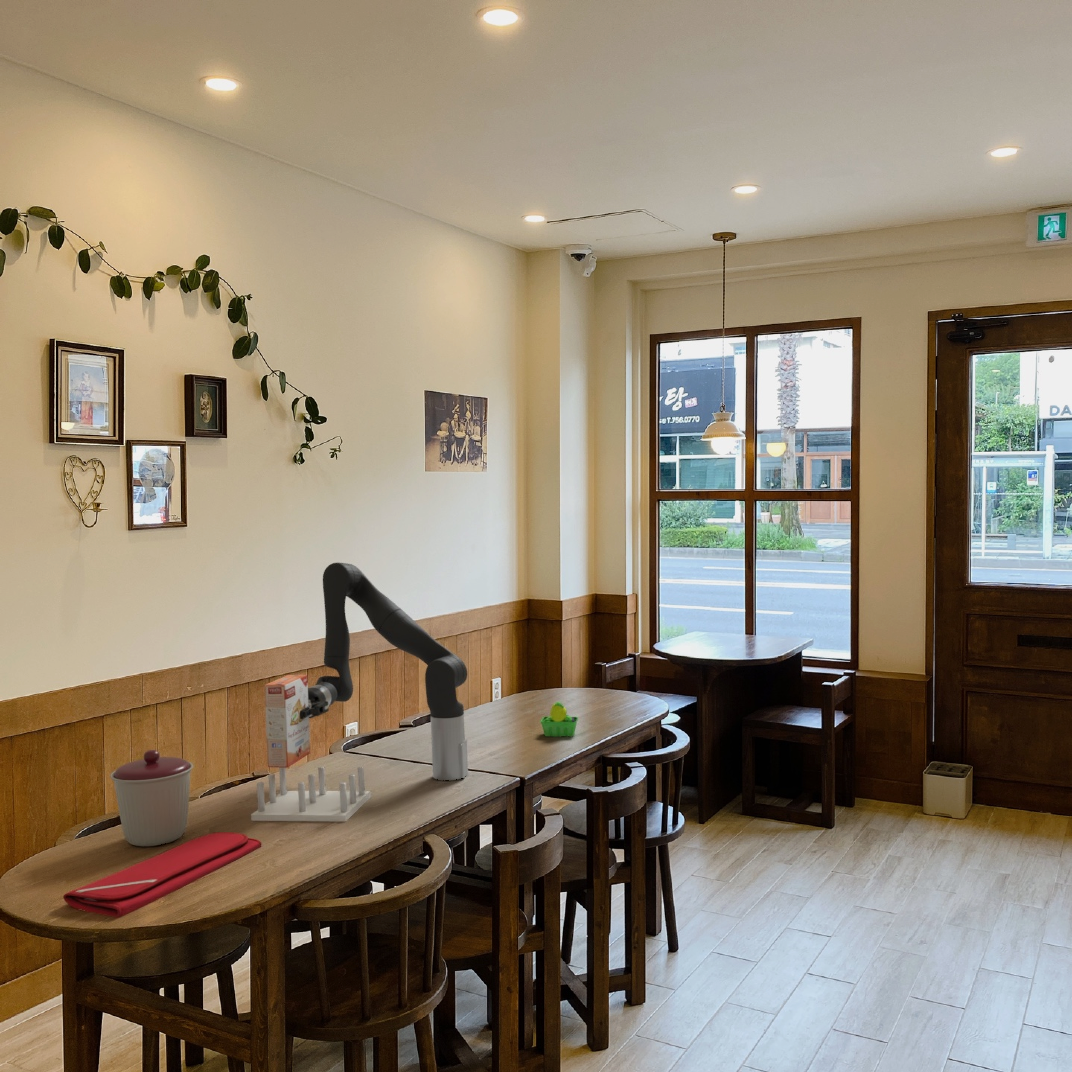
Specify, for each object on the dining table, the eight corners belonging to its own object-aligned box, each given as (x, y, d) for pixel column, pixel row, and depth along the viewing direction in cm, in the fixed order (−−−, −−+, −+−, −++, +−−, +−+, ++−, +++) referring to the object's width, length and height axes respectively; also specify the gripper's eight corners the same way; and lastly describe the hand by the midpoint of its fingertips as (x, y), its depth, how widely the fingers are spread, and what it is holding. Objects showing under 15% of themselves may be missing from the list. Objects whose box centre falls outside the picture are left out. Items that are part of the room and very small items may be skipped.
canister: (109, 836, 239) (104, 748, 239) (188, 822, 248) (184, 737, 247) (119, 859, 224) (114, 764, 223) (203, 842, 232) (199, 751, 232)
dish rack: (370, 796, 264) (369, 764, 263) (345, 821, 244) (344, 786, 244) (283, 796, 267) (281, 764, 267) (251, 820, 247) (249, 786, 247)
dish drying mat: (263, 848, 228) (262, 832, 228) (121, 920, 191) (120, 901, 191) (209, 841, 235) (208, 825, 235) (61, 909, 197) (60, 891, 197)
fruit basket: (579, 732, 327) (577, 697, 327) (575, 738, 319) (574, 703, 318) (544, 731, 329) (543, 697, 329) (539, 738, 321) (538, 703, 320)
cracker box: (289, 768, 249) (285, 684, 248) (266, 768, 250) (262, 684, 249) (312, 753, 262) (308, 673, 261) (290, 753, 264) (286, 673, 262)
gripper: (287, 687, 274) (261, 700, 257) (338, 686, 271) (315, 700, 255) (288, 714, 274) (263, 730, 257) (339, 714, 272) (317, 729, 255)
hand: (289, 715), depth 256 cm, fingers closed on cracker box, 6 cm apart
